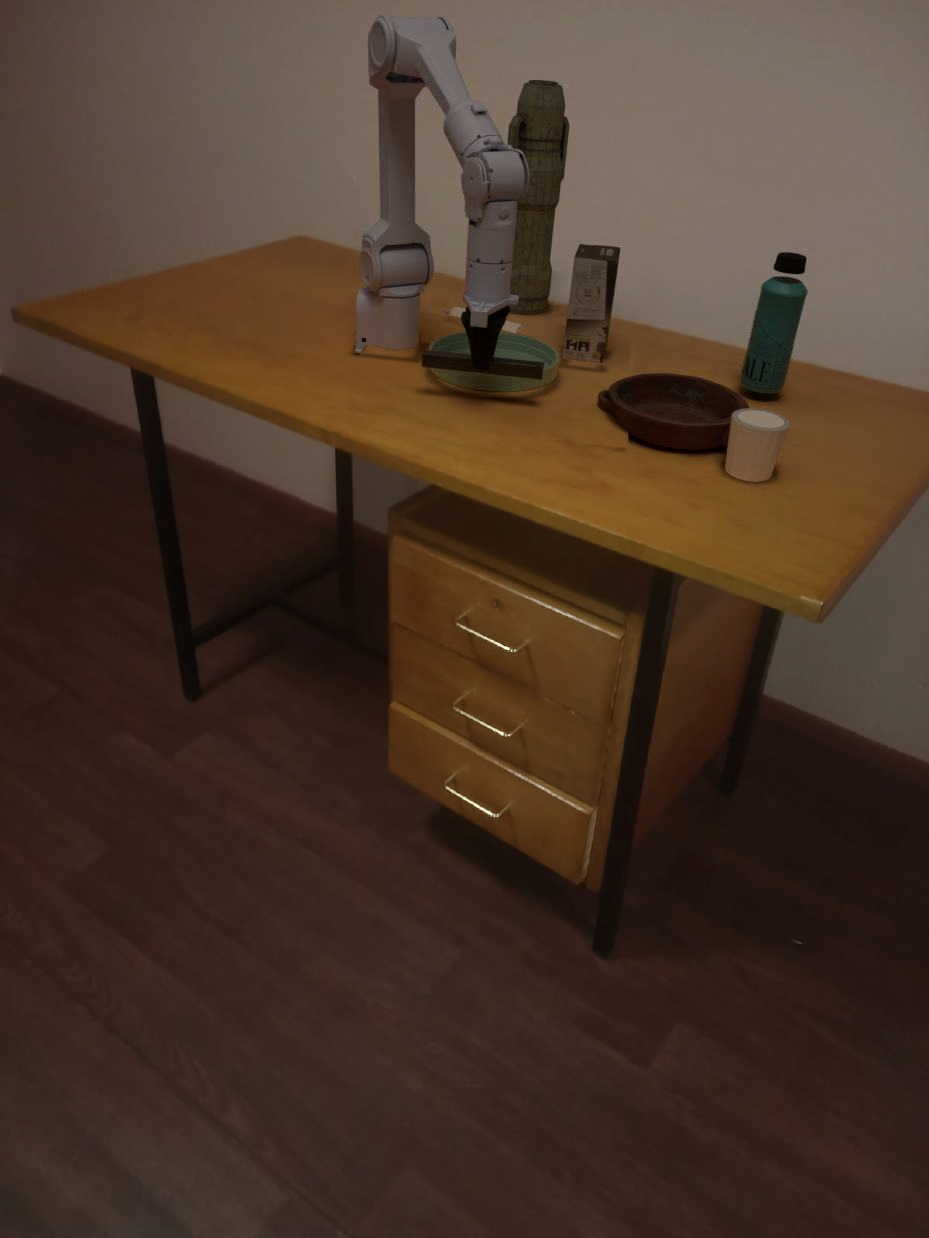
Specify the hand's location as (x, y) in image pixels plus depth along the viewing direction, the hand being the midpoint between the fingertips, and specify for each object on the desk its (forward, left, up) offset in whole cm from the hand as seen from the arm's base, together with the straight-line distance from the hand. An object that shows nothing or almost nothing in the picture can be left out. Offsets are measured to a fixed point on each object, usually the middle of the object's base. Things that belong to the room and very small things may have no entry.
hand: (482, 365), depth 125 cm
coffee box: (+13, +26, -7) cm, 29 cm away
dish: (+26, +1, -7) cm, 27 cm away
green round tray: (0, +14, -6) cm, 15 cm away
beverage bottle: (+39, +18, -7) cm, 43 cm away
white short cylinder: (+35, -9, -7) cm, 37 cm away
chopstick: (0, 0, -1) cm, 1 cm away
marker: (-5, +36, -7) cm, 36 cm away
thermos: (+1, +50, -7) cm, 50 cm away
